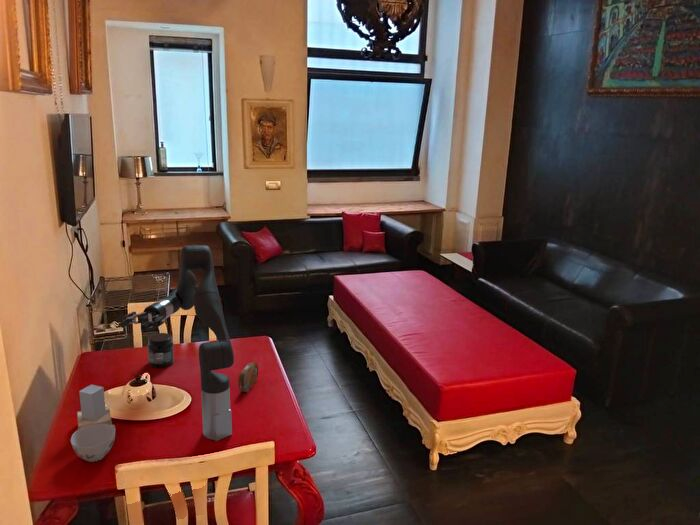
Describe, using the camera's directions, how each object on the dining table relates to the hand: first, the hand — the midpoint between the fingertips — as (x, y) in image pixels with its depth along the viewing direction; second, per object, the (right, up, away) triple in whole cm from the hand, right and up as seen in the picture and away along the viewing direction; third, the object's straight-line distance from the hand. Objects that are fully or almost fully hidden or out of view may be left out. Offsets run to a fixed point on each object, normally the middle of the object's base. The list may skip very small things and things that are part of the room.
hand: (131, 326), depth 193 cm
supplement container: (-3, -20, +39) cm, 44 cm away
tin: (+38, -27, +22) cm, 51 cm away
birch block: (-9, -34, -9) cm, 36 cm away
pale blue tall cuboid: (-8, -29, -11) cm, 32 cm away
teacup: (-1, -38, -23) cm, 44 cm away
